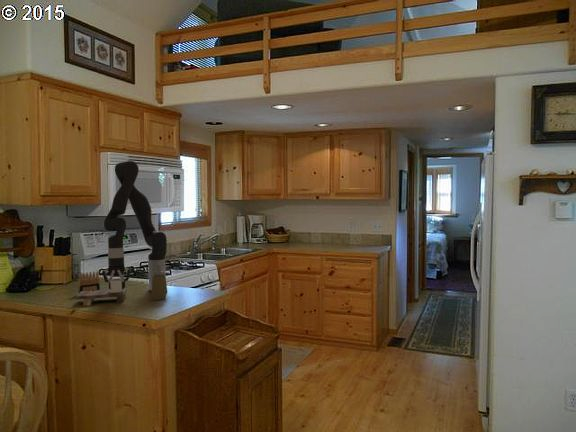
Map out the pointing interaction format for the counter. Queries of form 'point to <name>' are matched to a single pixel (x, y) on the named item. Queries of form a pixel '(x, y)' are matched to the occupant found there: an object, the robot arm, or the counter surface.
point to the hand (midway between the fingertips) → (117, 289)
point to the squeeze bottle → (159, 284)
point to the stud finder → (116, 285)
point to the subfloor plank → (100, 296)
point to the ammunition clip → (89, 282)
